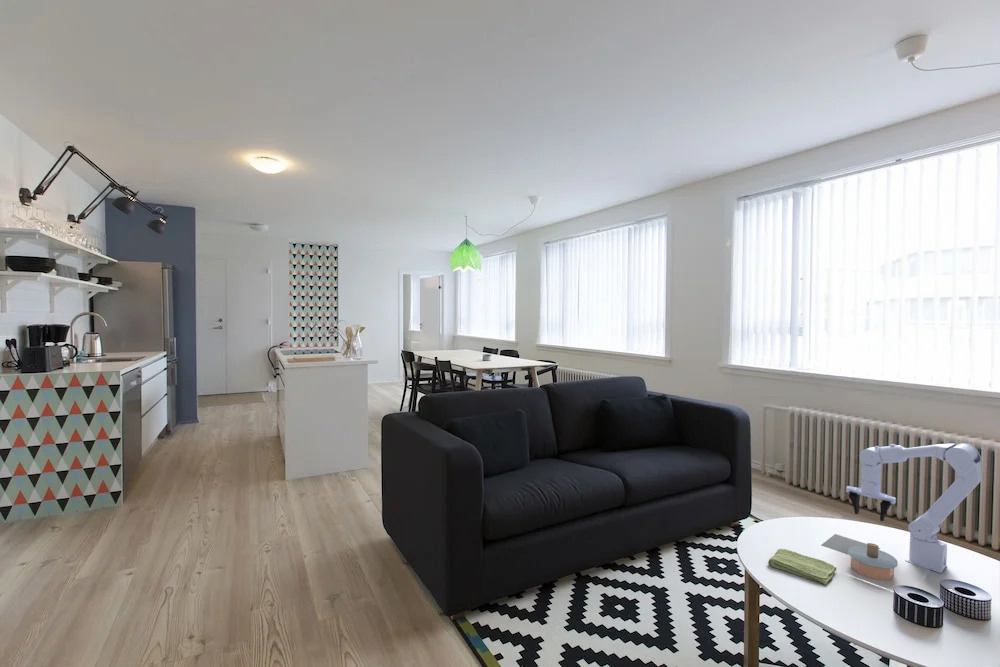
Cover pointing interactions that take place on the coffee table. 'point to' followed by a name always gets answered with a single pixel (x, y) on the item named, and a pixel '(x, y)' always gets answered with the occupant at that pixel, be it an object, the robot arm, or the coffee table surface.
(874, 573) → the bowl
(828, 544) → the mat
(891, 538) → the coffee table surface
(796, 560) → the washcloth
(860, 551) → the lid
